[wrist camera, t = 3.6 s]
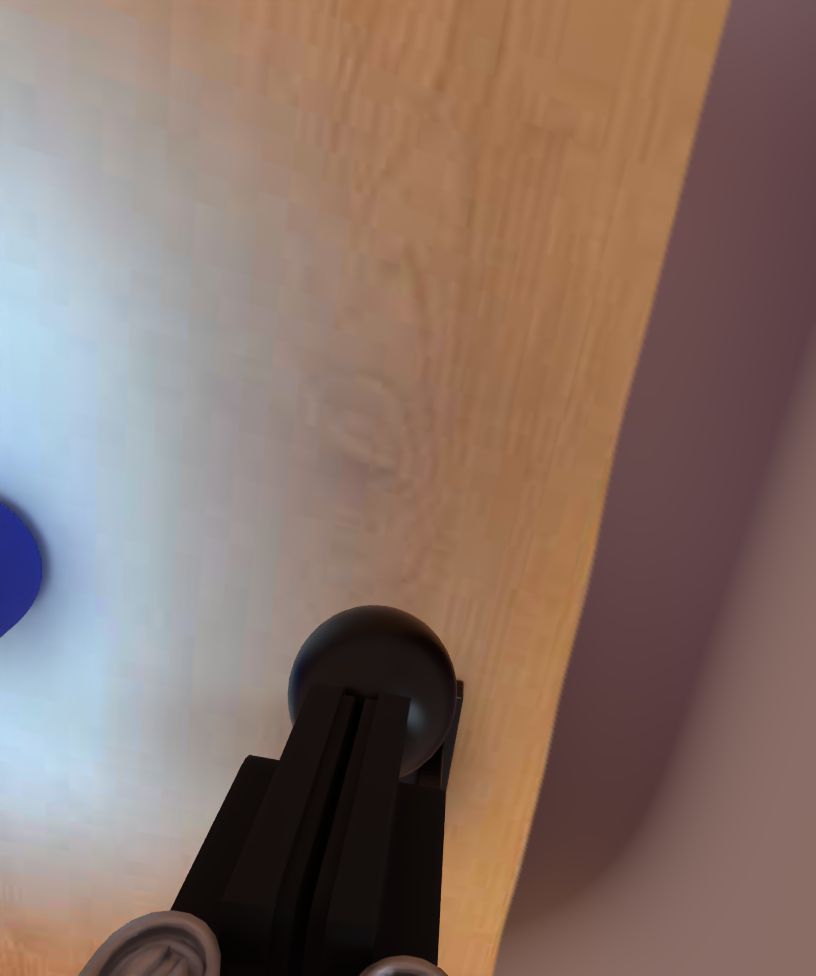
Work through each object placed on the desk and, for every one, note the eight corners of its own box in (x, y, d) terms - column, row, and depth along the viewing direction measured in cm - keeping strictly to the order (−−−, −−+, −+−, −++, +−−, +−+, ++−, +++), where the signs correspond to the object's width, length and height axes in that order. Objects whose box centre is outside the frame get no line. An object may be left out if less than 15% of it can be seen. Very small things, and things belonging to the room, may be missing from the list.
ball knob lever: (313, 560, 12) (262, 683, 10) (472, 585, 12) (464, 719, 10) (302, 950, 21) (273, 1073, 18) (394, 969, 21) (379, 1095, 18)
